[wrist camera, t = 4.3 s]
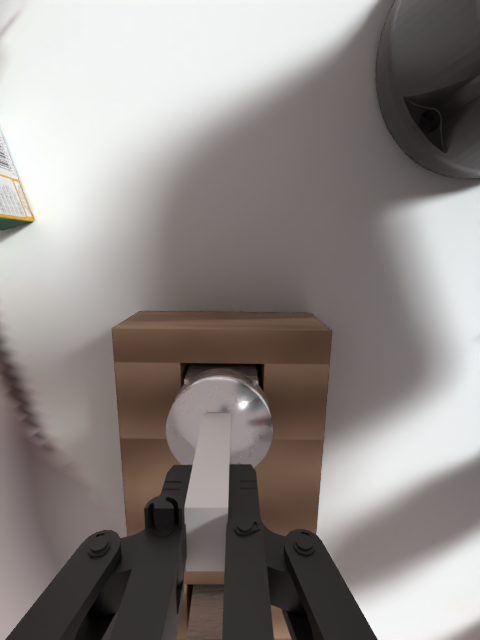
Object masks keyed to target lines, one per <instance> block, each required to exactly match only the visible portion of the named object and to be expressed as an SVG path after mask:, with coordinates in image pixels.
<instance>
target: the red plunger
mask: <svg viewBox="0 0 480 640" xmlns="http://www.w3.org/2000/svg"><path fill="white" fill-rule="evenodd" d="M223 600H224V584H193V592H192V599H191V607H190V615H189V623H188V630H187V638H186V640H222V628H223Z"/></svg>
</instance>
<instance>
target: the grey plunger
mask: <svg viewBox="0 0 480 640" xmlns="http://www.w3.org/2000/svg"><path fill="white" fill-rule="evenodd" d="M203 413H231V420H230V464H251V465H252V466H253V468H254V467H255V466H256V465H258V464H259V463H260V462H261V461H262V459H263V458H264V457H265V455H266V454H267V452H268V450H269V448H270V445H271V442H272V437H273V424H272V419H271V414H270V409H269V404H268V401H267V398H266V396H265V394H264V392H263V390H262V389H261V387H260V386H259V385H258V376H257V370H256V364H239V363H191V364H190V366H189V369H188V371H187V374H186V376H185V379H184V385H183V386H182V387H181V389H180V390H179V391H178V393H177V395H176V398H175V400H174V402H173V405H172V407H171V410H170V412H169V415H168V418H167V422H166V438H167V442H168V445H169V448H170V450H171V452H172V453H173V455H174V457H175V458H176V459H177V460H178V461H179V462H180V463H181V464H182V465H193V461H194V456H195V451H196V446H197V441H198V436H199V431H200V426H201V421H202V416H203Z"/></svg>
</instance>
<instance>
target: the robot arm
mask: <svg viewBox="0 0 480 640" xmlns="http://www.w3.org/2000/svg"><path fill="white" fill-rule="evenodd" d="M376 83H377V93H378V99H379V103H380V107H381V111H382V114H383V117H384V120H385V122H386V124H387V126H388V129H389V130H390V132H391V134H392V136H393V137H394V139H395V140H396V142H397V143H398V144H399V146H400V147H401V148H402V149H403V150H404V151H405V152H406V154H408V155H409V156H410V157H411V158H412V159H413V160H414V161H416V162H417V163H418V164H420V165H422V166H423V167H425V168H427V169H429V170H431V171H433V172H435V173H438V174H441V175H444V176H448V177H454V178H464V179H471V178H480V0H395V2H394V4H393V6H392V8H391V10H390V12H389V14H388V17H387V19H386V22H385V25H384V28H383V31H382V35H381V38H380V43H379V48H378V54H377V63H376ZM230 420H231V413H203V416H202V421H201V426H200V431H199V436H198V441H197V446H196V451H195V456H194V461H193V465H173V466H172V468H171V469H170V470H169V471H168V472H167V474H166V478H165V481H164V484H163V487H162V491H161V494H160V495H159V496H157V497H155V498H153V499H151V500H150V501H149V502H148V503H147V504H146V506H145V508H144V518H145V529H144V530H142V531H140V532H139V533H137V534H134V535H131V536H128V537H124V538H121V539H120V537H119V535H118V534H117V533H116V532H114V531H112V530H104V531H100V532H96V533H95V534H93V535H91V536H89V537H88V538H87V539H86V540H85V541H84V542H83V543H82V544H81V545H80V546H79V548H78V549H77V550H76V552H75V553H74V554H73V555H72V556H71V558H70V559H69V560H68V561H67V563H66V564H65V565H64V567H63V568H62V569H61V570H60V572H59V573H58V574H57V575H56V577H55V578H54V579H53V580H52V582H51V583H50V584H49V585H48V587H47V588H46V589H45V591H44V592H43V593H42V594H41V596H40V597H39V598H38V599H37V601H36V602H35V603H34V604H33V606H32V607H31V608H30V610H29V611H28V612H27V613H26V614H25V616H24V617H23V618H22V619H21V621H20V622H19V623H18V624H17V626H16V627H15V628H14V629H13V631H12V632H11V634H10V635H9V636H8V637H7V638H6V640H177V633H178V626H179V619H180V613H181V606H182V599H183V592H184V572H185V566H186V571H225V573H224V600H223V628H222V640H274V634H273V624H272V614H271V605H273V606H275V607H278V608H280V609H282V613H283V616H284V619H285V622H286V625H287V627H288V630H289V633H290V636H291V639H292V640H377V638H376V636H375V634H374V632H373V631H372V629H371V627H370V625H369V624H368V622H367V620H366V618H365V617H364V615H363V613H362V611H361V610H360V608H359V606H358V604H357V603H356V601H355V599H354V597H353V595H352V594H351V592H350V590H349V588H348V587H347V585H346V583H345V581H344V580H343V578H342V576H341V574H340V573H339V571H338V569H337V567H336V566H335V564H334V562H333V560H332V558H331V557H330V555H329V553H328V551H327V550H326V548H325V546H324V544H323V543H322V541H321V540H320V539H319V537H318V536H317V535H316V534H314V533H313V532H311V531H308V530H305V529H295V530H293V531H290V532H289V533H288V534H287V536H282V535H279V534H276V533H274V532H272V531H270V530H269V529H268V528H267V527H266V526H265V525H264V524H263V522H262V520H261V516H260V507H259V496H258V486H257V475H256V471H255V469H254V468H253V466H252V465H251V464H230Z"/></svg>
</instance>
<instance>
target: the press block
mask: <svg viewBox="0 0 480 640" xmlns="http://www.w3.org/2000/svg"><path fill="white" fill-rule="evenodd" d="M112 338H113V352H114V365H115V379H116V392H117V405H118V419H119V432H120V446H121V459H122V472H123V486H124V499H125V513H126V526H127V537H128V536H131V535H134V534H137V533H139V532H140V531H142V530H144V529H145V518H144V508H145V506H146V504H147V503H148V502H149V501H150V500H151V499H153V498H155V497H157V496H159V495H160V494H161V491H162V487H163V484H164V481H165V478H166V474H167V472H168V471H169V470H170V469H171V468H172V466H173V465H182V464H181V463H180V462H179V461H178V460H177V459H176V458H175V457H174V455H173V453H172V452H171V450H170V448H169V445H168V442H167V438H166V422H167V418H168V415H169V412H170V410H171V407H172V405H173V402H174V400H175V398H176V395H177V393H178V391H179V390H180V389H181V387H182V386H183V385H184V379H185V376H186V374H187V371H188V369H189V366H190V364H191V363H239V364H258V373H257V376H258V385H259V386H260V387H261V389H262V390H263V392H264V394H265V396H266V398H267V401H268V404H269V409H270V414H271V419H272V424H273V437H272V442H271V445H270V448H269V450H268V452H267V454H266V455H265V457H264V458H263V459H262V461H261V462H260V463H259V464H258V465H256V466H255V467H254V469H255V471H256V475H257V486H258V496H259V507H260V516H261V520H262V522H263V524H264V525H265V526H266V527H267V528H268V529H269V530H270V531H272V532H274V533H276V534H279V535H282V536H287V534H288V533H289V532H290V531H293V530H295V529H305V530H308V531H311V532H313V533H314V534H316V530H317V518H318V505H319V492H320V480H321V467H322V454H323V441H324V429H325V416H326V403H327V390H328V378H329V365H330V352H331V339H332V330H330V329H329V328H328V327H327V326H326V325H324V324H323V323H322V322H321V321H320V320H319V319H317V318H316V317H315V316H314V315H313V314H311V313H273V312H189V311H139V312H137V313H136V314H134V315H133V316H131V317H129V318H128V319H126V320H125V321H123V322H121V323H120V324H118V325H117V326H115V327H113V328H112ZM224 573H225V571H186V566H185V572H184V592H183V599H182V606H181V613H180V619H179V626H178V633H177V640H186V638H187V630H188V623H189V615H190V607H191V599H192V592H193V584H224ZM271 614H272V624H273V634H274V640H292V639H291V636H290V633H289V630H288V627H287V625H286V622H285V619H284V616H283V613H282V609H280V608H278V607H275V606H273V605H271Z"/></svg>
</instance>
